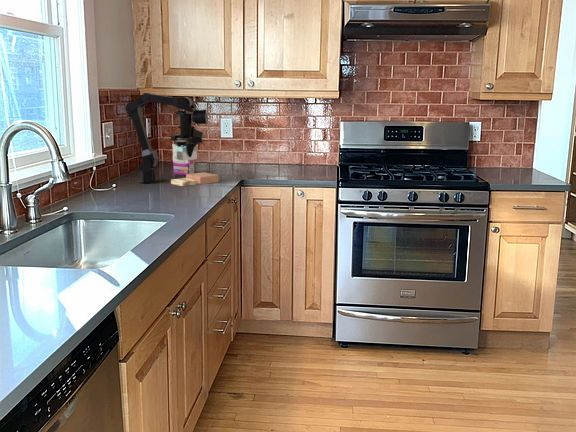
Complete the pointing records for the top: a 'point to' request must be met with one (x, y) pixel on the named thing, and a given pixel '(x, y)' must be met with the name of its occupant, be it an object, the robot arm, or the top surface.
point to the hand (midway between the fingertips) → (187, 156)
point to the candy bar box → (181, 164)
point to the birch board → (183, 182)
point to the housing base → (186, 155)
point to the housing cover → (184, 148)
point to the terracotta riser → (203, 177)
